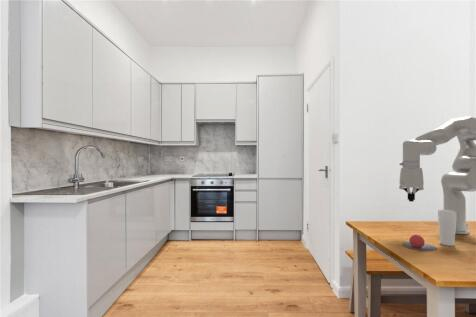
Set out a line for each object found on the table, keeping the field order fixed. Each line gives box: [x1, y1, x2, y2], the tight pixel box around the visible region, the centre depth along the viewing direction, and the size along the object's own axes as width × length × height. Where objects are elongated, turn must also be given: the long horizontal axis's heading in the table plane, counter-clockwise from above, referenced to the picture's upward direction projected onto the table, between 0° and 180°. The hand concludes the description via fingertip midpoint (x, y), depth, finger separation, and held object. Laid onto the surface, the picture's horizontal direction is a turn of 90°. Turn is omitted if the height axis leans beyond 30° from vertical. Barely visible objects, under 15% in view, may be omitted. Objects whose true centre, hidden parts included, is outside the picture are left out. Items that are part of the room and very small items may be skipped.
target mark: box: [401, 241, 438, 252], centre depth 129 cm, size 13×13×1 cm
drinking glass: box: [437, 209, 457, 247], centre depth 132 cm, size 7×7×15 cm
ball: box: [409, 234, 426, 248], centre depth 127 cm, size 6×6×6 cm
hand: (411, 201), depth 150 cm, fingers closed
